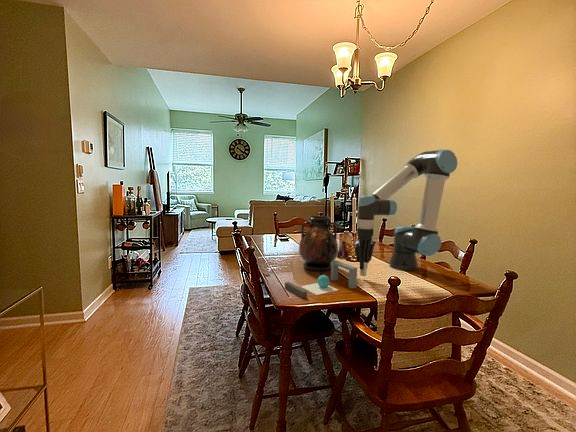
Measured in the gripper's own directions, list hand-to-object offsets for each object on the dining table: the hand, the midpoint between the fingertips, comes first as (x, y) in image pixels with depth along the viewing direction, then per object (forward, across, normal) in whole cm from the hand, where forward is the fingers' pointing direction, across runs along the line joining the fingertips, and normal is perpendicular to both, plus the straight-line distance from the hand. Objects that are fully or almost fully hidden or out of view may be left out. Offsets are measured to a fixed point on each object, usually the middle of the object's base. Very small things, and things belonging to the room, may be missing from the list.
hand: (363, 275), depth 152 cm
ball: (-1, +24, 0) cm, 24 cm away
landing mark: (+2, +27, 0) cm, 27 cm away
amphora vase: (+2, +7, -27) cm, 28 cm away
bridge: (+2, +13, 0) cm, 13 cm away
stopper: (+2, +39, -1) cm, 39 cm away
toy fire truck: (+2, -22, -40) cm, 46 cm away
